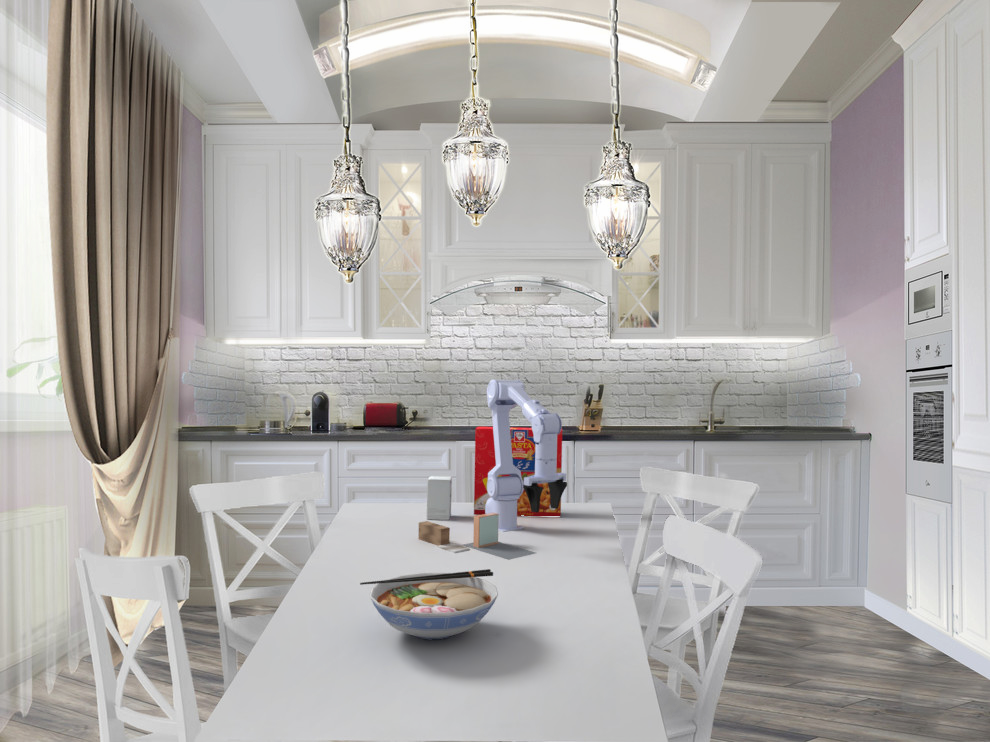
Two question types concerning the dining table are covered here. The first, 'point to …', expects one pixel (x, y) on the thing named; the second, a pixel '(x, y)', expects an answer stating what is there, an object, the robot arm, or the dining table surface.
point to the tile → (485, 529)
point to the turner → (438, 536)
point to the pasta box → (521, 459)
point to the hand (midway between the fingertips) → (544, 510)
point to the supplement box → (439, 497)
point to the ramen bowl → (434, 602)
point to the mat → (502, 550)
